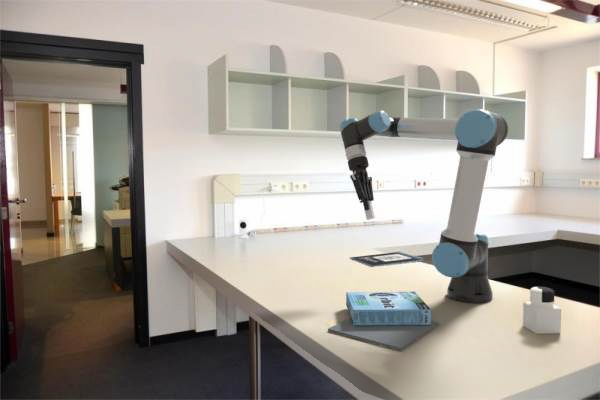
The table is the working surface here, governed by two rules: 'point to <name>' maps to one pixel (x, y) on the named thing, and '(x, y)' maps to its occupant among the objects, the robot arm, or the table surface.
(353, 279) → the table surface
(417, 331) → the mat
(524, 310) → the medicine bottle
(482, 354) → the table surface
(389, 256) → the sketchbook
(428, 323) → the gum box
